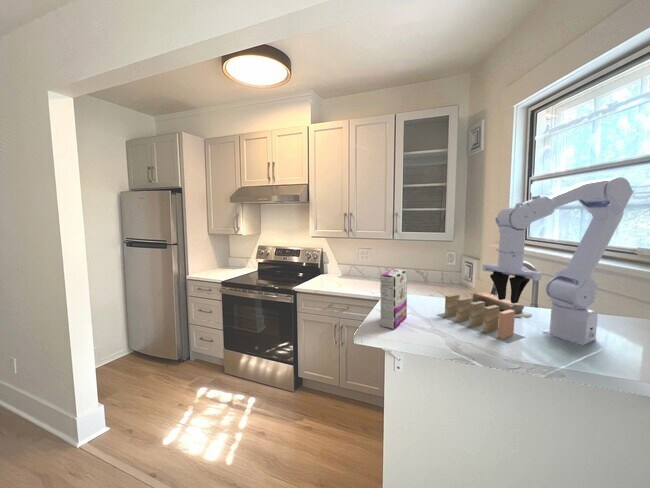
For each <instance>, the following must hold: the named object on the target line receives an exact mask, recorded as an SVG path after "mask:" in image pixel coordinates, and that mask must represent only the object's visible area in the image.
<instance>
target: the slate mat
mask: <svg viewBox="0 0 650 488" xmlns="http://www.w3.org/2000/svg"><path fill="white" fill-rule="evenodd" d="M436 316H438V317H439V318H443V319H445V320H448V321H451V322H453V323H456V324H457V325H459V326H462V327H464V328H465V327H466V328H467V329H471V330H473V331H475V332H478V333H480V334H484V335H486V336H488V337H491V338H493V339H496V340H498V341H501V342H503V343H506V344H510V343H513V342H516V341H518V340H521V339H525V338H526V336H523V335H521V334H518V333H515V332H514V334H513V335H512V336H510V337H507V338H504V339H502V338H499V337H498V330H495V331H491V332H488V333H487V332H484V331H483V325H479V326H476V327H471V326H469V320H467V321H463V322H458V321H456V316H453V317H449V318H448V317H445V312H441V313H439V314H436Z"/></svg>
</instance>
